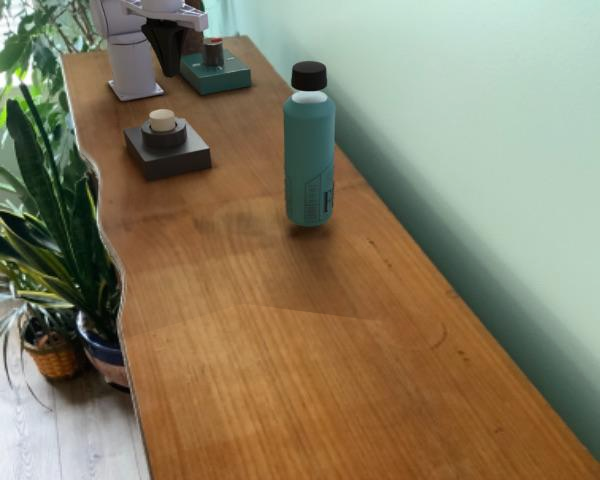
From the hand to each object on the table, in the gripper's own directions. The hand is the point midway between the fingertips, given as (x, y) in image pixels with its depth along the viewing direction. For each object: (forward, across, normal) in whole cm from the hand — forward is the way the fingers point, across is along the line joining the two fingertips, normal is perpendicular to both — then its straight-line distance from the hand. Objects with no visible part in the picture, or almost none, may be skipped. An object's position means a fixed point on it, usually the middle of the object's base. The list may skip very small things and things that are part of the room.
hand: (172, 75), depth 95 cm
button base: (+10, -2, +6) cm, 12 cm away
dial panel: (+10, +11, -24) cm, 28 cm away
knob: (+7, +11, -24) cm, 27 cm away
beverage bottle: (+10, -31, +11) cm, 35 cm away
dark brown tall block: (+10, +22, -30) cm, 38 cm away
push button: (+5, -2, +6) cm, 8 cm away
